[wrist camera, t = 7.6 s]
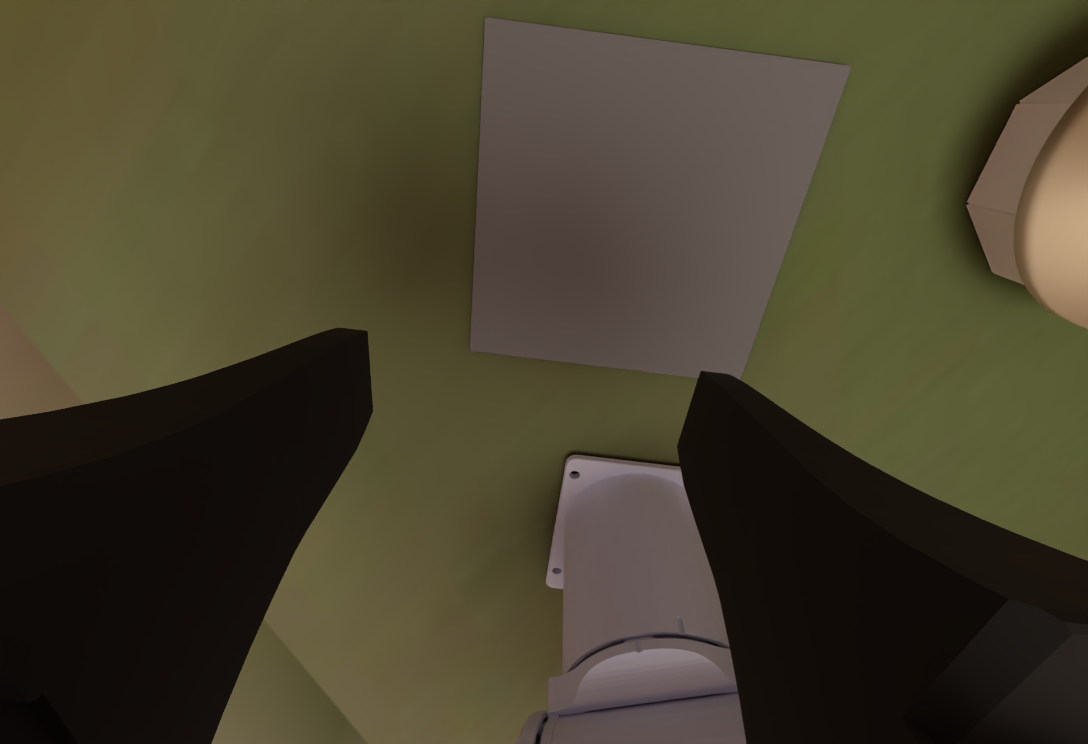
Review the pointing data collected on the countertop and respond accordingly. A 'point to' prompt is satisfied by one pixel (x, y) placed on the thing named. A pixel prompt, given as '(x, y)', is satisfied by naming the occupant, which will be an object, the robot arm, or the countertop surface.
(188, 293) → the countertop surface
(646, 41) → the mat
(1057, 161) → the lid
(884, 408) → the countertop surface
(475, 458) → the countertop surface
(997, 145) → the bowl
